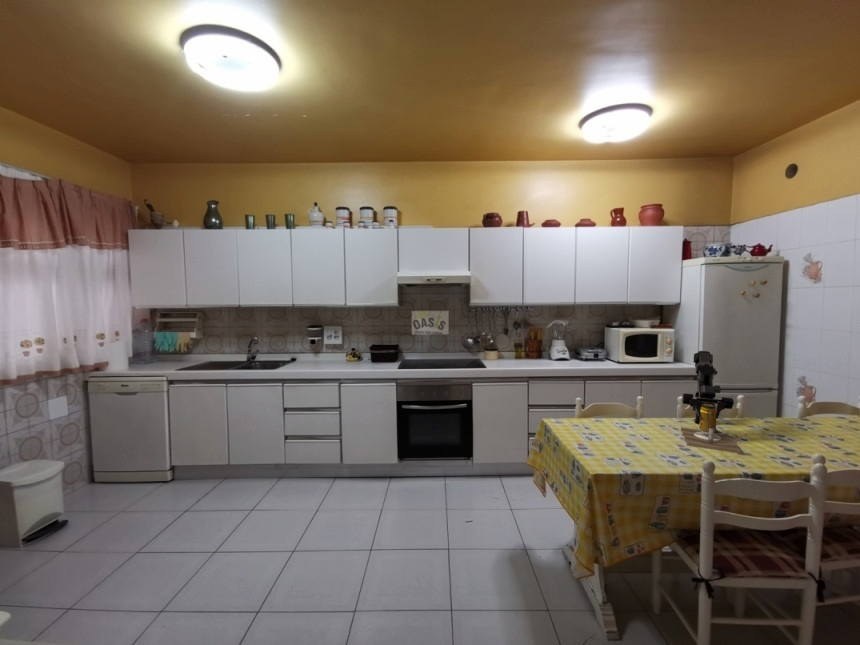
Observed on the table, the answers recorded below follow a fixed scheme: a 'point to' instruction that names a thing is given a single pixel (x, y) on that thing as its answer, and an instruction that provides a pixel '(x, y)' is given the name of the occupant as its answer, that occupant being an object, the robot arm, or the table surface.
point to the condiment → (708, 418)
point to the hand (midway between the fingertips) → (708, 417)
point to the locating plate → (706, 444)
